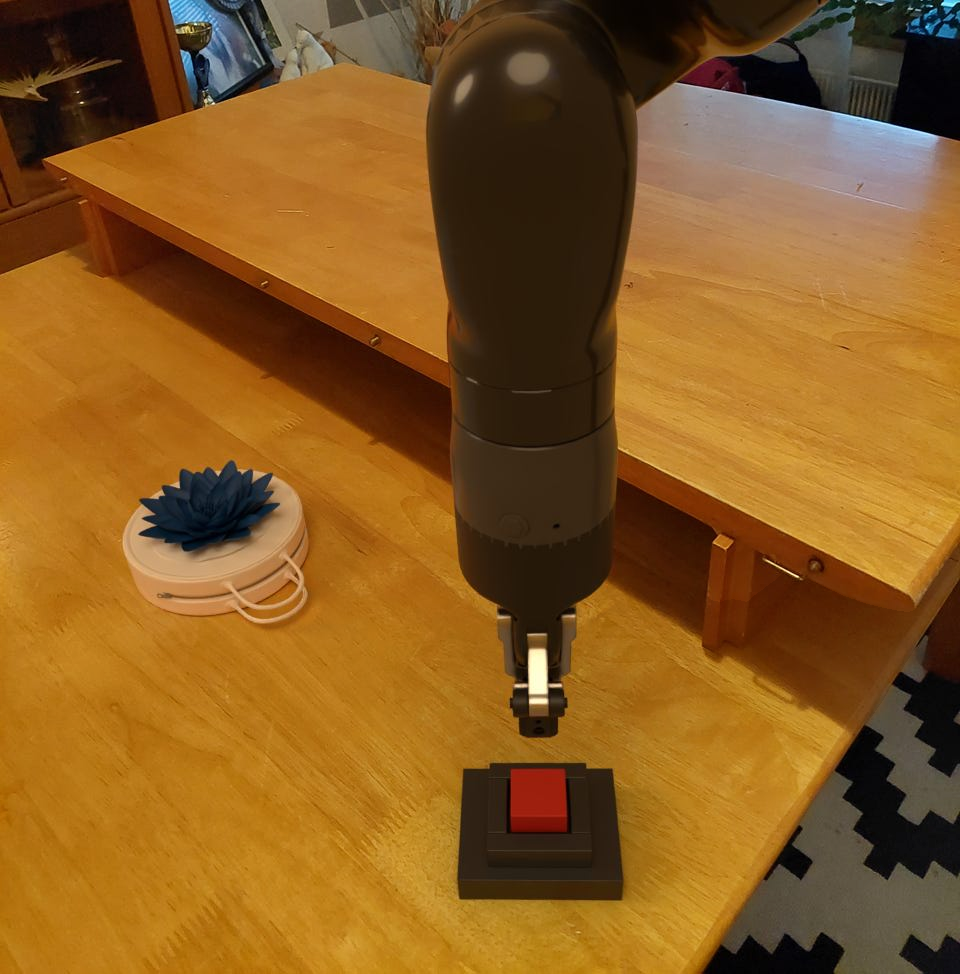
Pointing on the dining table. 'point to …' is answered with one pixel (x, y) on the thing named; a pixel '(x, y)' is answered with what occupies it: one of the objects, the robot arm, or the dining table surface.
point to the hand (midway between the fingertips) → (538, 726)
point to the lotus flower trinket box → (218, 543)
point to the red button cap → (538, 800)
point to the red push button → (539, 839)
